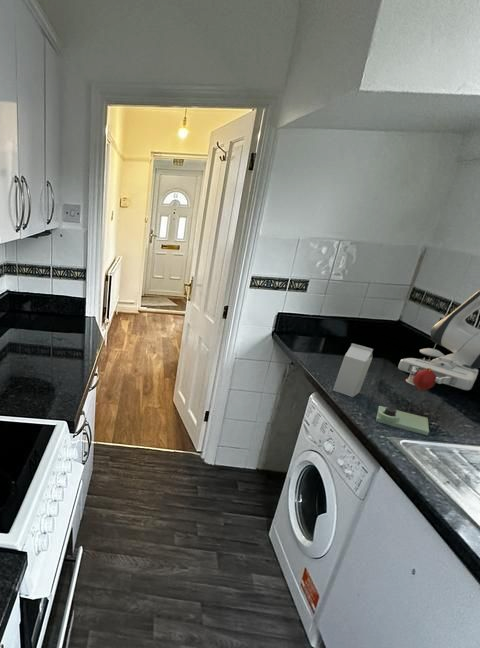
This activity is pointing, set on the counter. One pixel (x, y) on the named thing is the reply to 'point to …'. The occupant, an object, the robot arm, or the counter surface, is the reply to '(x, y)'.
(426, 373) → the onion
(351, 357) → the milk carton
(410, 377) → the french press
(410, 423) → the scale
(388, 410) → the tare button
